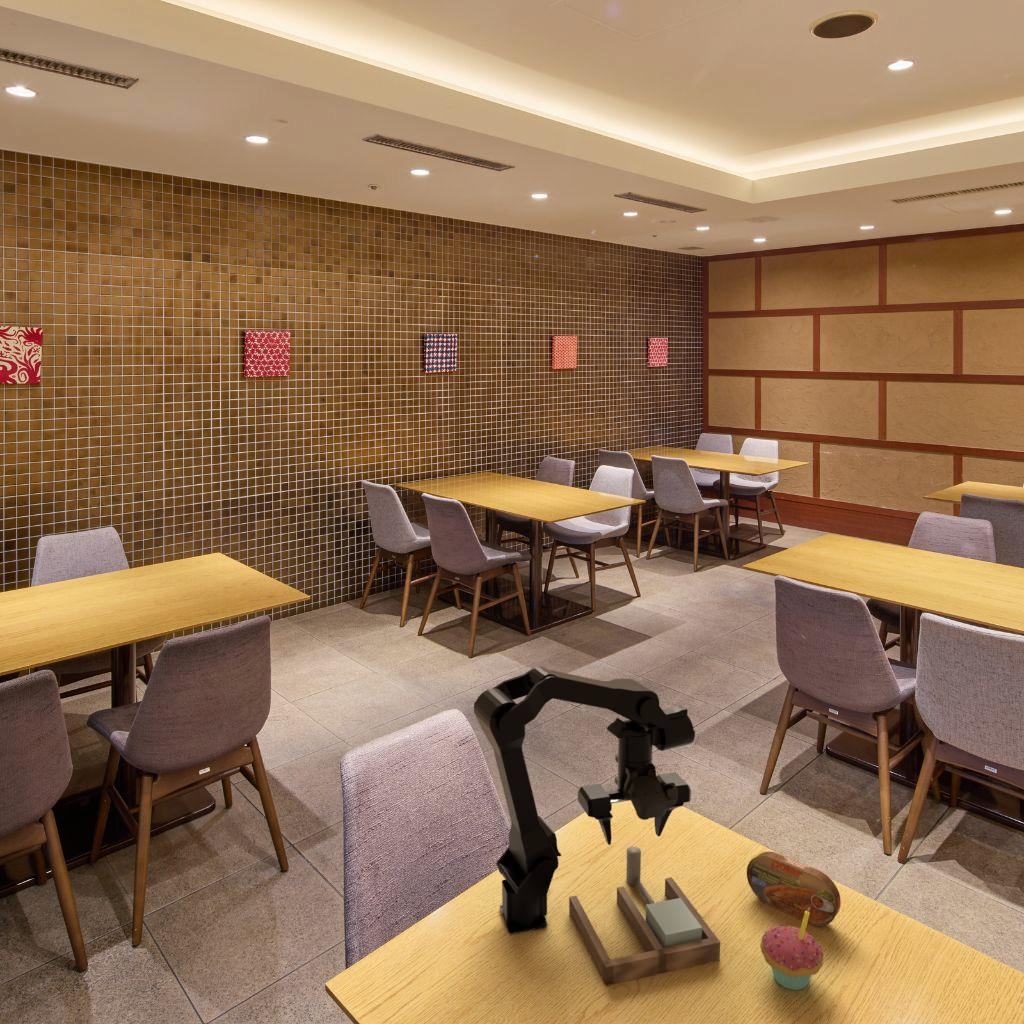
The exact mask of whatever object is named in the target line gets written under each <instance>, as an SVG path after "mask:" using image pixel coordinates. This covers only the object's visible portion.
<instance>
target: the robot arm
mask: <svg viewBox="0 0 1024 1024" xmlns="http://www.w3.org/2000/svg"><path fill="white" fill-rule="evenodd" d="M523 697H524V699H523V700H521V701H520V702H518V703H517V702H515V700H516V699H520V698H523ZM553 699H554V700H558V701H563V702H568V703H569V702H570V703H574V704H580V705H584V706H585V705H586V706H589V707H595V708H600V709H606V710H609V711H610V712H613V713H615V714H617V715H619V716H621V717H622V718H623V717H624V718H625V719H626V720H622V719H620V718H619V717H616V718H615V720H614V721H613V722H611V723H610V724H609V725H608V726H607V727H606V730H607V731H608V732H609V733H611V735H613V736H615V738H617V739H618V742H617V743H618V744H617V745H618V747H617V748H618V750H617V752H618V753H617V754H615V756H614V758H615V759H614V760H615V762H616V763H617V776H614V783H615V784H616V785H617V789H612V790H605V788H604V787H603V786H602V784H601V783H596V784H595V783H593V784H587V785H583V786H582V785H581V787H579V789H578V792H577V802H578V803H579V804H580V806H581V808H582V809H583V810H584V812H585V813H586V815H587V816H588V817H590V818H594V819H595V820H597V821H598V823H599V825H600V828H601V831H602V833H603V836H604V839H605V842H606V843H607V845H608V846H610V845H612V824H611V823H612V822H611V821H612V819H613V817H614V816H613V814H612V812H611V811H612V804H615V803H622V802H629V801H630V802H631V804H632V806H633V807H634V811H635V813H636V816H637V817H638V819H640V820H649V819H653V818H654V819H653V820H654V830H655V834H656V836H657V837H661V836H662V833H663V830H664V829H665V826H666V824H667V822H668V820H669V818H670V816H671V814H672V812H673V811H674V810H676V809H678V808H681V807H683V806H684V804H686V803H690V802H691V800H692V790H691V787H690V785H689V784H688V783H687V782H686V781H685V780H684V779H683V778H682V777H681V776H680V775H679V774H678V773H677V772H676V771H674V772H668V773H661V774H660V773H659V774H657V771H656V765H654V764H653V747H655V748H656V749H657V750H659V751H661V752H664V751H667V750H668V751H669V750H672V749H675V748H680V747H683V746H690V745H691V744H693V742H694V740H695V736H696V731H695V729H694V726H693V725H694V724H693V722H692V720H691V718H690V716H689V715H688V711H689V709H687V708H685V707H684V706H682V705H681V704H678V705H675V706H673V707H670V708H665V709H662V707H661V706H660V698H659V695H658V694H657V693H656V692H655V691H653V690H651V689H650V688H648V687H647V686H645V685H643V684H642V683H640V682H638V681H637V680H635V679H633V678H614V679H611V680H599V679H594V678H589V677H586V676H585V677H584V676H580V675H576V674H572V673H566V672H562V671H561V672H560V671H557V670H553V669H548V668H547V667H544V666H535V667H533V668H531V669H529V670H528V671H526V672H525V673H523V674H521V675H518V676H515V677H511V678H509V679H506V680H503V681H502V682H500V683H499V684H497V685H496V686H494V687H493V688H489V689H485V691H483V692H482V693H480V695H479V696H478V697H477V699H476V701H475V702H474V703H473V704H474V705H473V713H474V715H475V718H476V720H477V723H478V724H479V726H480V729H481V730H482V731H483V734H484V736H485V737H486V739H487V740H488V742H489V744H490V746H491V747H492V750H493V754H494V758H495V763H496V766H497V770H498V774H499V777H500V782H501V785H502V790H503V793H504V794H503V795H504V798H505V802H506V805H507V810H508V813H509V818H510V822H511V823H510V824H511V826H510V829H509V832H508V847H507V848H506V850H505V851H504V852H503V853H502V855H501V856H500V857H499V858H498V859H497V861H496V863H495V865H496V866H497V870H498V871H499V874H500V875H502V878H504V879H503V880H501V895H502V897H501V901H502V902H501V903H502V904H501V905H499V911H500V913H501V916H502V919H503V922H504V924H505V927H506V929H507V932H508V933H509V934H510V935H511V934H517V933H518V934H519V933H522V932H527V931H532V930H537V929H541V928H546V927H548V921H547V918H546V917H545V916H547V915H548V892H549V890H550V886H551V883H552V880H553V877H554V873H555V872H556V871H557V869H558V868H559V863H560V862H559V858H558V857H561V856H562V853H561V852H560V851H559V848H558V840H557V835H556V833H555V832H554V831H553V830H552V828H551V827H550V826H549V825H548V824H547V822H545V820H544V819H543V818H542V816H540V815H539V814H538V810H537V806H536V801H535V797H534V793H533V789H532V784H531V780H530V777H529V772H528V768H527V764H526V760H525V756H524V750H523V744H524V741H525V737H526V726H527V725H528V724H529V723H531V722H533V720H535V719H536V718H537V716H538V715H539V713H540V712H541V711H542V709H543V708H544V706H545V705H546V704H547V703H549V701H551V700H553Z"/></svg>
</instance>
